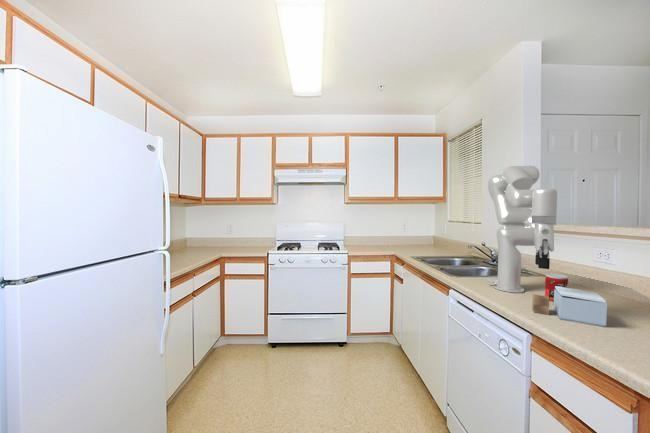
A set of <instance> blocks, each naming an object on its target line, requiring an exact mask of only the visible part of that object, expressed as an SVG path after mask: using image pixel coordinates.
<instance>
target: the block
mask: <svg viewBox="0 0 650 433" xmlns="http://www.w3.org/2000/svg"><path fill="white" fill-rule="evenodd" d="M531 307H532V312H533V313H534V314H538V315H545V316H550V301H549V298H548V297H547V296H545V295H540V294H532V306H531Z"/></svg>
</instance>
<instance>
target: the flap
mask: <svg viewBox="0 0 650 433" xmlns="http://www.w3.org/2000/svg"><path fill="white" fill-rule="evenodd" d="M555 288H556V290H557V291H558V292H559V293H560V294H561V295H562V296H568V297H573V298H579V299H585V300H591V301H596V302H602V303H607V300H606V299H605V298H603V297H602V296H600V295H599V294H598V293H597V292H596V291H589V290H583V289H576V288H569V287H568V288H565V287H559V286H555Z"/></svg>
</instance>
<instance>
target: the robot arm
mask: <svg viewBox="0 0 650 433" xmlns="http://www.w3.org/2000/svg"><path fill="white" fill-rule="evenodd" d="M539 178H540V170H539V168H537V167H536V166H534V165H513V166H508V167H507V168H505V169H504V170H503V171H502V174H495V175H493V176H491V177H490V178H489V179H488V181H487V189H488V193H489V196H490V198H491V200H492V201H493V206H494V209H495V210H494V211H495V215H496V220H497V223H498V225H501V226H500V227H499V228H498V229H497V230H496V240H497V277H496V278H489V277H488V278H487V279H486V282H487V283H489V284H493V288H494V289H495V290H498V291H501V292H508V293H514V294H515V293H518V294H519V293H524V292H525V288H523V287H522V286H521V279H522V278H521V276H522V274H521V271H522V254H521V252H520V250H518V248H517V246H519V247H521V246H522V247H523V246H524V247H534V249H535V250H536V251H535V265H537V266H538V267H537V268H539V269H543V270H550V264H551V262H550V260H551V259H550V252H554V251H555V232H554V231H555V230H554V226H557V218H558V217H557V212H558V191H557V189H556V188H536V189H532V187H533V186H534V185H535V184H536V183H537V182H538V181H539Z"/></svg>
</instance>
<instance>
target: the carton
mask: <svg viewBox="0 0 650 433" xmlns="http://www.w3.org/2000/svg"><path fill="white" fill-rule="evenodd" d="M553 310H554V313H556V315H557V317H558V318H559V320H561V321H568V322H574V323H578V322H579V324H586V325H590V326H597V327H602V328H607V317H608V315H607V313H608V303H607V302H606V303H602V302H596V301H591V300H585V299H579V298H573V297H568V296H562V295H561V294H560V293H559V292H558V291H557V290H556V289H554V302H553Z"/></svg>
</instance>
